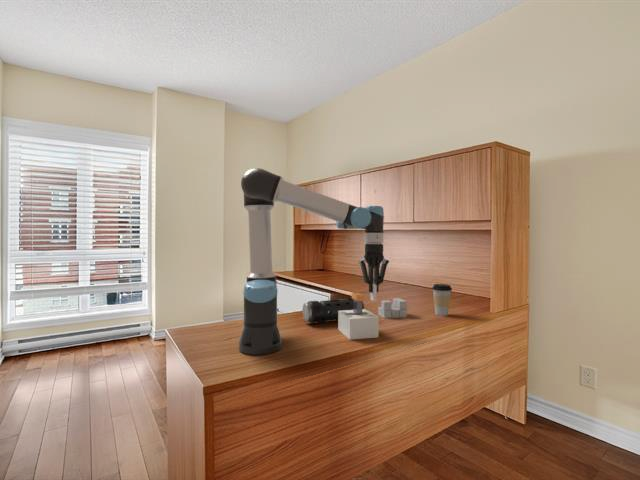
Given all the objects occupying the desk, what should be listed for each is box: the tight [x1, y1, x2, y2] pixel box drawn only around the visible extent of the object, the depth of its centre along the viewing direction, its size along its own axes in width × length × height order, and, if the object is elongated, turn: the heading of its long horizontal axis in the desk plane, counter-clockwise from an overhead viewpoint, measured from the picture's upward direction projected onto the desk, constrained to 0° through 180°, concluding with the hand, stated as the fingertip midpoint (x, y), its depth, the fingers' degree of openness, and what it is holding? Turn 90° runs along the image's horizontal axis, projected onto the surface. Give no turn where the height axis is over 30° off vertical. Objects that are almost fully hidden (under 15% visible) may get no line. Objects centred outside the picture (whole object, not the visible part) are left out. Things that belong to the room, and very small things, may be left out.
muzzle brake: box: [301, 297, 365, 324], centre depth 152 cm, size 10×28×10 cm, turn 113°
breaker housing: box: [337, 308, 380, 340], centre depth 134 cm, size 12×14×8 cm
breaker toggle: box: [351, 292, 365, 314], centre depth 134 cm, size 3×6×8 cm, turn 15°
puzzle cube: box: [377, 297, 408, 319], centre depth 165 cm, size 12×12×8 cm
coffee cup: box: [432, 283, 453, 317], centre depth 165 cm, size 9×9×15 cm
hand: (373, 300), depth 136 cm, fingers closed
